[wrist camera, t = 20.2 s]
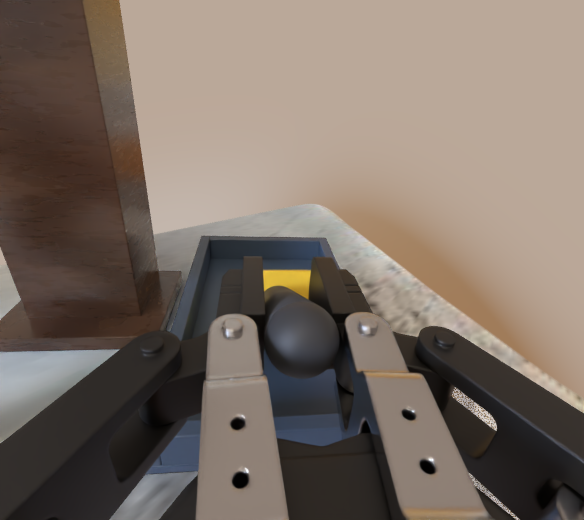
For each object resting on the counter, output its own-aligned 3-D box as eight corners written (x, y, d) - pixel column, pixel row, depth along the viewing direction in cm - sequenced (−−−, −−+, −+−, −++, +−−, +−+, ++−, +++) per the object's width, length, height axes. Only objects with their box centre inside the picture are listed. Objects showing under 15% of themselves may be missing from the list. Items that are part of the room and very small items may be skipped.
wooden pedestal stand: (-15, 352, 20) (-845, -1313, 5) (54, 280, 27) (-194, -490, 12) (159, 348, 21) (-63, -993, 6) (182, 281, 28) (107, -418, 13)
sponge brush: (199, 429, 8) (199, 274, 8) (235, 319, 23) (235, 269, 24) (409, 417, 8) (407, 273, 8) (305, 318, 24) (305, 269, 24)
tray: (144, 474, 15) (135, 439, 13) (202, 259, 32) (201, 235, 30) (397, 458, 16) (409, 424, 15) (323, 260, 33) (325, 237, 32)
